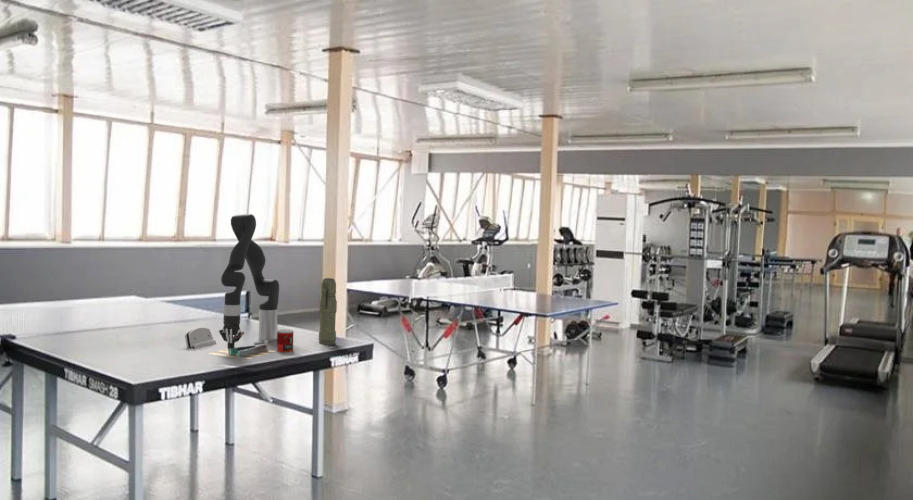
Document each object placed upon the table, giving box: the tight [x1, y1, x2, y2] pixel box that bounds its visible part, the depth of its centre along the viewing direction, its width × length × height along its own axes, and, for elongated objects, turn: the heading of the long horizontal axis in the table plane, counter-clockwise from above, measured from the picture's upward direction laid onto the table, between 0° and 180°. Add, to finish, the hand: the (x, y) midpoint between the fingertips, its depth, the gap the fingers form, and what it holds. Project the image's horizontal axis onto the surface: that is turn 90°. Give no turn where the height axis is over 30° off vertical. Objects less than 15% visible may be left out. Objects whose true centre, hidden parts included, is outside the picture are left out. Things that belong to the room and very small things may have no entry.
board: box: [207, 348, 277, 360], centre depth 325 cm, size 21×24×1 cm
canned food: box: [276, 329, 294, 353], centre depth 333 cm, size 8×8×11 cm
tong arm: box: [227, 341, 264, 355], centre depth 323 cm, size 18×3×4 cm, turn 135°
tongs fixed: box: [237, 340, 269, 359], centre depth 323 cm, size 20×3×5 cm, turn 161°
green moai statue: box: [318, 277, 338, 347], centre depth 359 cm, size 9×12×35 cm
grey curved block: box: [184, 327, 217, 350], centre depth 345 cm, size 17×5×10 cm, turn 162°
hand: (230, 350), depth 321 cm, fingers closed
